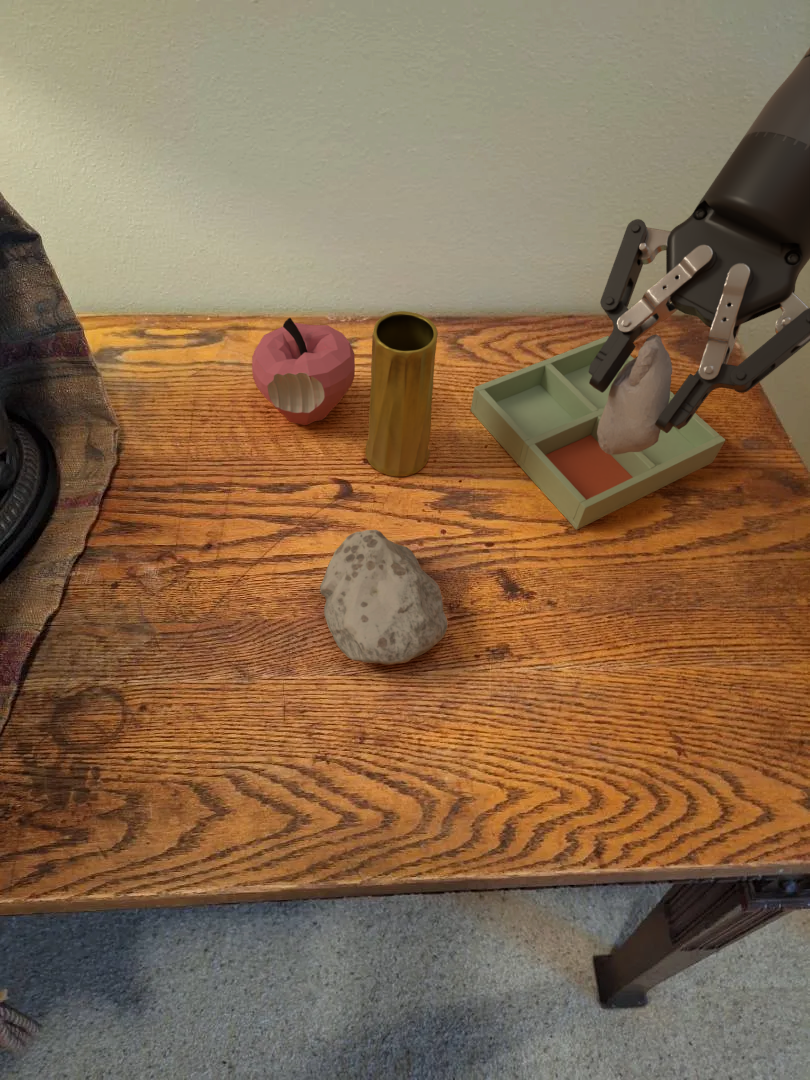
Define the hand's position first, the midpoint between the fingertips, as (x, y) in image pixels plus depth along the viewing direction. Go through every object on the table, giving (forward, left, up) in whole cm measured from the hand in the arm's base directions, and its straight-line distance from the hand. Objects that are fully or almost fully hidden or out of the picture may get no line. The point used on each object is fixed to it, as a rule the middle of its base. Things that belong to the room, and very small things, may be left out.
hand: (628, 407), depth 48 cm
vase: (+18, +6, -18) cm, 26 cm away
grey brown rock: (+1, -2, -6) cm, 7 cm away
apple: (+27, +11, -18) cm, 34 cm away
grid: (+11, -12, -18) cm, 24 cm away
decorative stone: (+4, +16, -18) cm, 25 cm away
